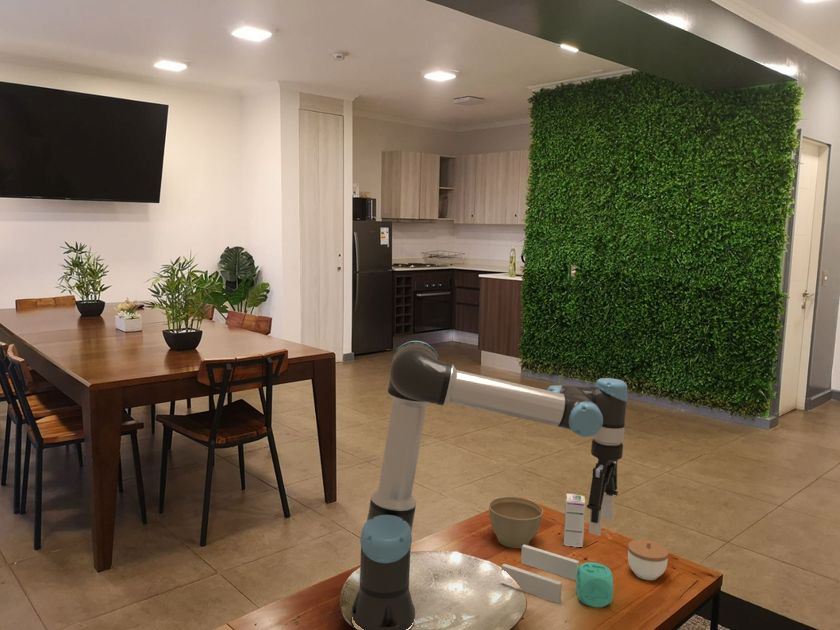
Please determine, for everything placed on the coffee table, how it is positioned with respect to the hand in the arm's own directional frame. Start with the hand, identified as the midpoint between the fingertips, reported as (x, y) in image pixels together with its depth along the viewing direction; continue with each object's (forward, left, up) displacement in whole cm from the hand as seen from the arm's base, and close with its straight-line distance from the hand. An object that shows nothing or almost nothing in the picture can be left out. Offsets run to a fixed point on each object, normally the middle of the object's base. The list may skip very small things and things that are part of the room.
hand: (600, 526), depth 164 cm
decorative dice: (0, 0, -20) cm, 20 cm away
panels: (-15, 0, -20) cm, 25 cm away
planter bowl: (-30, +17, -20) cm, 40 cm away
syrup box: (-15, +27, -20) cm, 37 cm away
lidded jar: (+8, +21, -20) cm, 30 cm away
